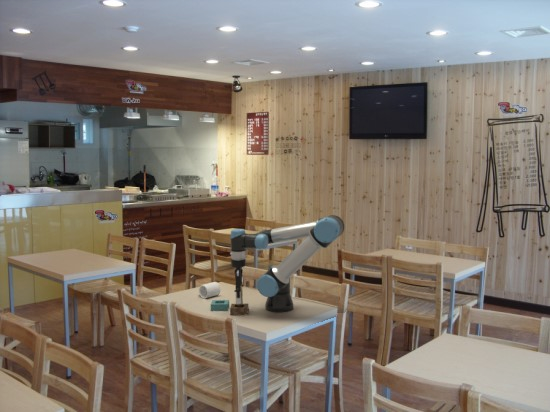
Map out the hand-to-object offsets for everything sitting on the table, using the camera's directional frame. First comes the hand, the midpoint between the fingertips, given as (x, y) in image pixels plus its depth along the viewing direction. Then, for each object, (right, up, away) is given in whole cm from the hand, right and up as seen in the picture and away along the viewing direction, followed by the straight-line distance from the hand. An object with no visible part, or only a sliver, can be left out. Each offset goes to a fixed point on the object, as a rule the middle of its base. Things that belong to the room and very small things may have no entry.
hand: (239, 301), depth 302 cm
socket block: (-11, -5, +9) cm, 15 cm away
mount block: (0, -6, +1) cm, 6 cm away
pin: (0, -6, +1) cm, 6 cm away
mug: (-21, -3, +36) cm, 41 cm away
